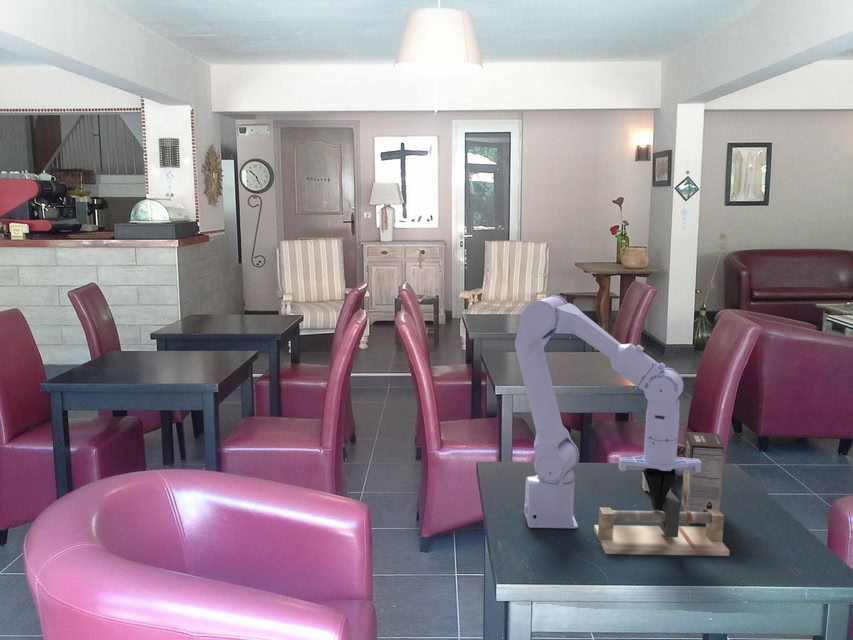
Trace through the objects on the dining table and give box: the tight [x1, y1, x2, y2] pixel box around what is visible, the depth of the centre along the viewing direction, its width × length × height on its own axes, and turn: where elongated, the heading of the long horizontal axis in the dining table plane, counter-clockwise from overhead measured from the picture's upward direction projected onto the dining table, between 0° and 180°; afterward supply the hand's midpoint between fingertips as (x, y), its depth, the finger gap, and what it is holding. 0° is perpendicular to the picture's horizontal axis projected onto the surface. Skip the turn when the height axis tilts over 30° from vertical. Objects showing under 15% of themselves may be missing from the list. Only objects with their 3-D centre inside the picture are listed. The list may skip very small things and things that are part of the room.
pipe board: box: [593, 506, 730, 557], centre depth 139 cm, size 22×10×6 cm, turn 90°
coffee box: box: [681, 431, 726, 525], centre depth 151 cm, size 9×6×16 cm
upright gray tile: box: [657, 491, 681, 537], centre depth 139 cm, size 2×5×7 cm, turn 0°
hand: (656, 507), depth 139 cm, fingers closed
